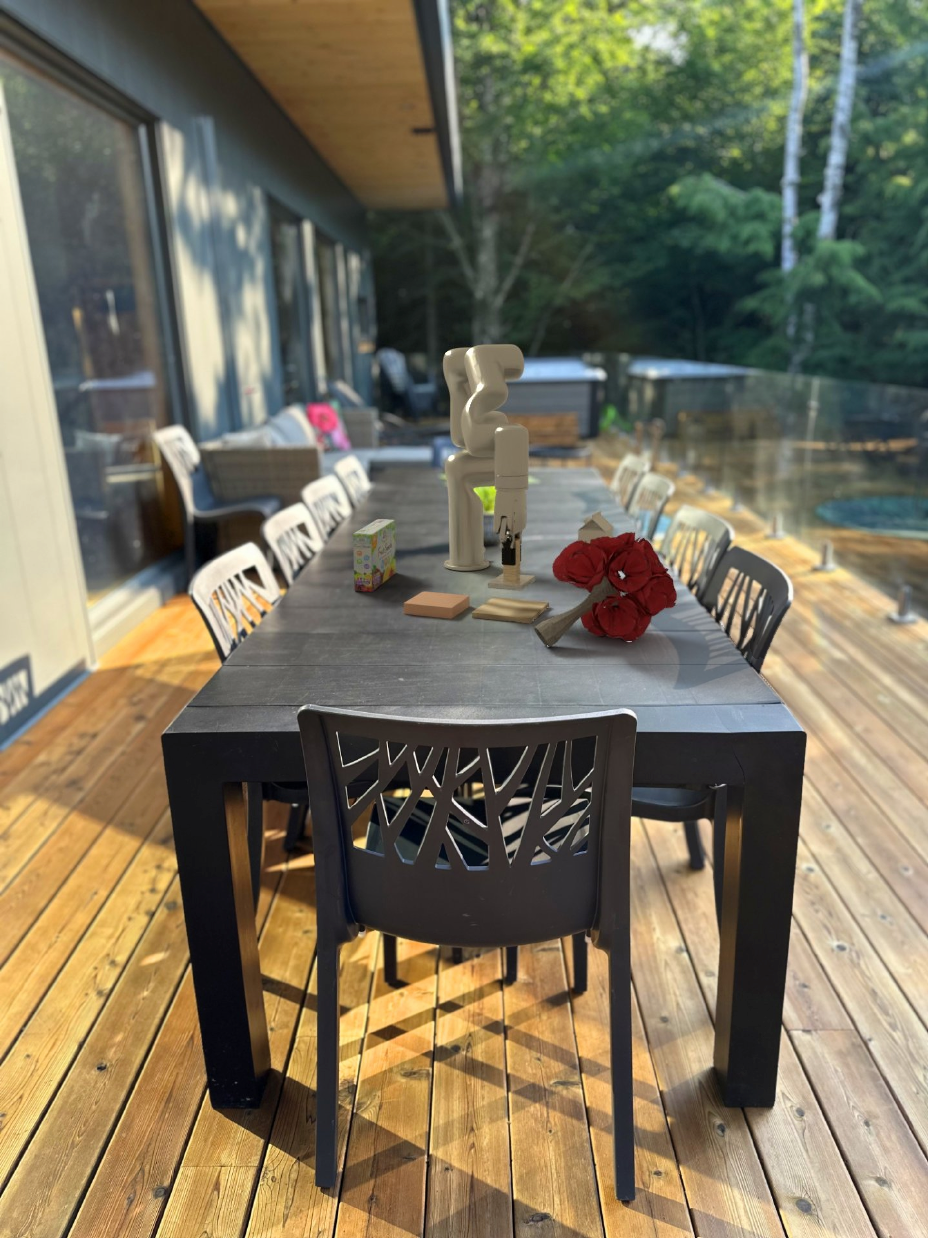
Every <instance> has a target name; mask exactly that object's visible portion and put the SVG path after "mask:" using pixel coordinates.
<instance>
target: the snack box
mask: <svg viewBox="0 0 928 1238" xmlns="http://www.w3.org/2000/svg"><path fill="white" fill-rule="evenodd" d="M352 539H353V541H352V543H353V544H352V545H353V578H354V581H353V582H354V583H353V585H354V589H353V591H355V592H366V593H367V592H369V593H373V592H374V591H375V590H377V589H378V588H379V587H380V586H381V585H382V584H384V583H385V582H386V581H388V580H389V579H390V578H391V577H392V576H394V575H396V567H397V566H396V520H395V519H386V518H385V519H383V518H381V519H379V518H378V519H375V520H374V521H372V522H370V523H369V524H367V525H365V526H363V528H361V529H359V530H357V531H355V532H354V533H353V534H352Z"/></svg>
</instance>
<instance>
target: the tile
mask: <svg viewBox="0 0 928 1238" xmlns="http://www.w3.org/2000/svg"><path fill="white" fill-rule="evenodd" d="M469 607H470V595H467V594H465V595H464V594H456V593H455V594H454V593H446V592H445V593H444V592H435V591H434V592H433V591H422V592H420V593H418V594H416V595H415V596H413V597H412V598H410V599H408V600H407V601H405V602H403V614H404V615H414V616H422V617H433V618H443V619H453V618H455V617H456V616H458V615H459V614H461V613H462V612H464V611H465V610H466V609H467V608H469Z"/></svg>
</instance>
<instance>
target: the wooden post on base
mask: <svg viewBox="0 0 928 1238" xmlns="http://www.w3.org/2000/svg"><path fill="white" fill-rule="evenodd" d="M510 541H511V538H510ZM520 545H521V544H520V538H515V541H514V548H516V565H514V566H510V565H503V573H501V574H499V575H498V576H497V577H494V578H493V579H492V580H490V581H488V582H487V588H488V589H493V590H506V591H517V592H522V591H523V590H525V589H526V588H528V587H529V586H530V585H531V584H533V583H534V582H535V581H536V575H533V574H531V575H530V574H529V575H528V574H521V562H520Z"/></svg>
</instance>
